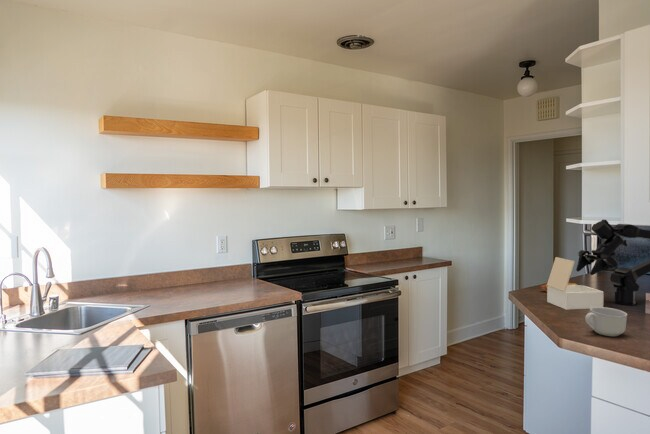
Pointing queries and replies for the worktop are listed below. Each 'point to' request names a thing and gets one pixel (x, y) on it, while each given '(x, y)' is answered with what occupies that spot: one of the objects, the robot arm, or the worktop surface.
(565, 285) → the flap
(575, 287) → the carton
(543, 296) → the worktop surface
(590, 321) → the teacup
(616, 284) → the robot arm
